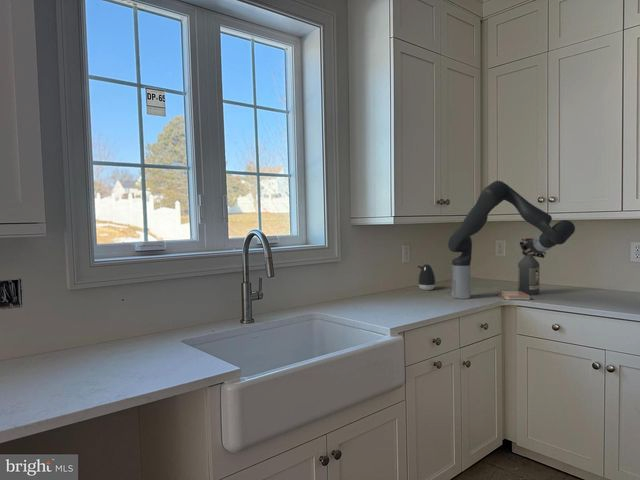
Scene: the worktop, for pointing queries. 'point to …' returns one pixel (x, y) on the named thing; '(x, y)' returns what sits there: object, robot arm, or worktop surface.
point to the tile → (515, 295)
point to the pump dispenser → (426, 277)
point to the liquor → (528, 274)
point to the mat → (512, 299)
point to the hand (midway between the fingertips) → (524, 253)
